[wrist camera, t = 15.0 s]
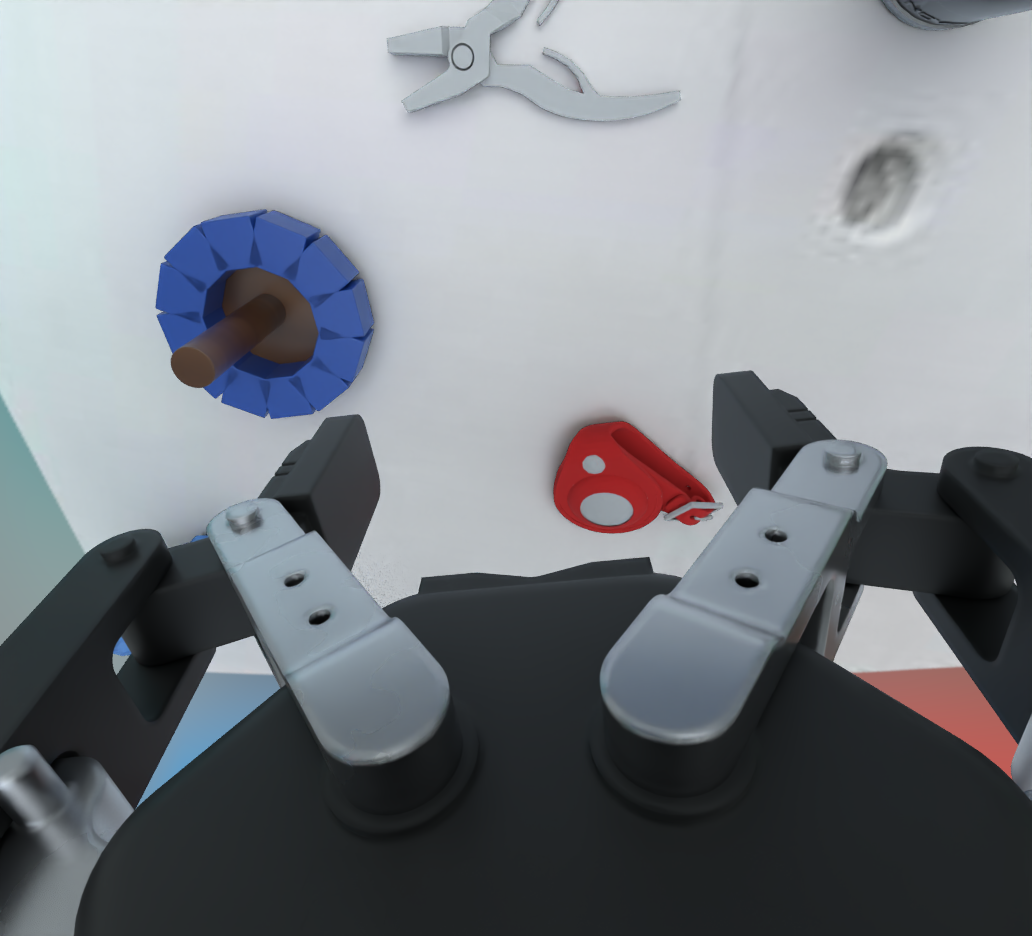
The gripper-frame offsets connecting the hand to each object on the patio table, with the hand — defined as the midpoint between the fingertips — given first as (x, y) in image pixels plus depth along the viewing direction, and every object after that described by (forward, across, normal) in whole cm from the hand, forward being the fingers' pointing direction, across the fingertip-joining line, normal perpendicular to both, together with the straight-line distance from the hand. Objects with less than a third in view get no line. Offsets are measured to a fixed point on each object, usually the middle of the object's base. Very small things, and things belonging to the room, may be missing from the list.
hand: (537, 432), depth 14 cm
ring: (+27, +17, +3) cm, 32 cm away
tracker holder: (+28, -5, +19) cm, 35 cm away
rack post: (+28, +18, +2) cm, 33 cm away
